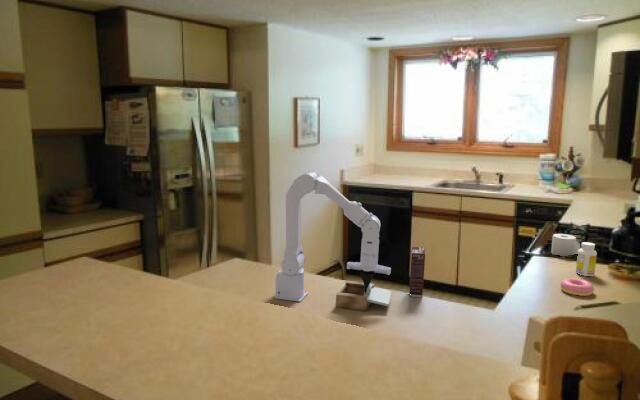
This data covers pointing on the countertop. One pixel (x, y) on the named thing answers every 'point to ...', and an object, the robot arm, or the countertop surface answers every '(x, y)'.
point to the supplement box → (417, 272)
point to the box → (353, 296)
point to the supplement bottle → (586, 259)
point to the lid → (377, 295)
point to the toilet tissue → (564, 245)
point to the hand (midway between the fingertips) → (367, 291)
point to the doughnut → (577, 287)
